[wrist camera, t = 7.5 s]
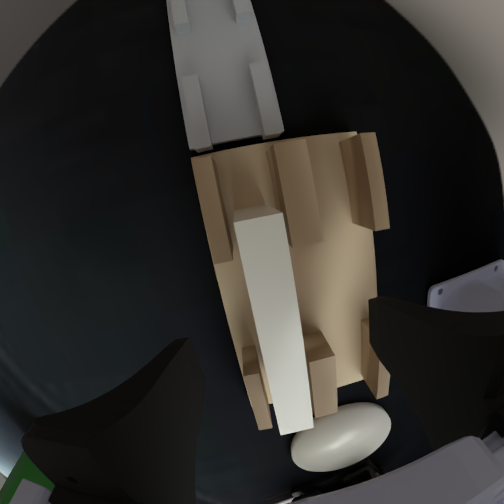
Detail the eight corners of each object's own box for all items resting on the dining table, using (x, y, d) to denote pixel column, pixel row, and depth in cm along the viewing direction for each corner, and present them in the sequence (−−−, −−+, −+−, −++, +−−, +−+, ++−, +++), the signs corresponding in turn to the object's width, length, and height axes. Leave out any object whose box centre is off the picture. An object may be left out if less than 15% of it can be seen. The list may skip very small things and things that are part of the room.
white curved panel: (265, 203, 14) (282, 212, 9) (293, 365, 17) (313, 427, 11) (234, 209, 14) (233, 222, 9) (268, 371, 17) (280, 435, 11)
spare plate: (390, 385, 19) (396, 394, 18) (380, 445, 21) (384, 453, 20) (283, 417, 19) (286, 427, 18) (294, 470, 21) (296, 479, 20)
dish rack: (351, 133, 15) (379, 121, 11) (371, 368, 18) (392, 398, 15) (193, 159, 14) (180, 150, 11) (251, 399, 18) (254, 435, 15)
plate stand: (243, -15, 12) (244, -31, 10) (283, 138, 14) (289, 131, 13) (167, -1, 12) (161, -16, 10) (192, 155, 14) (186, 151, 13)
